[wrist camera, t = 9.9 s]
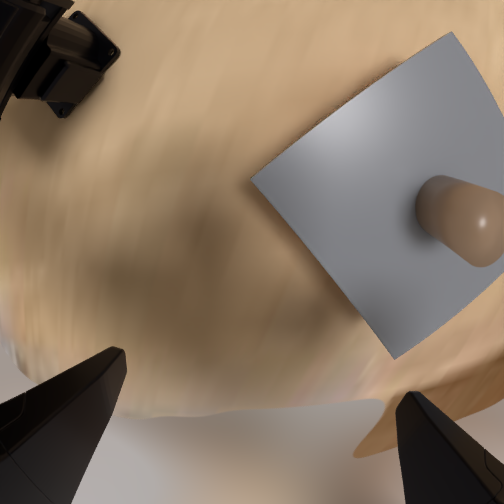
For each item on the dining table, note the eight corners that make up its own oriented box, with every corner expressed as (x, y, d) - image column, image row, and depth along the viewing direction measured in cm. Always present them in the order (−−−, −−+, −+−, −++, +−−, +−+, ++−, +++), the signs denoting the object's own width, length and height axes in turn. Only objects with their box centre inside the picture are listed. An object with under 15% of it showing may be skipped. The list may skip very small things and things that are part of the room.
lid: (251, 177, 14) (240, 196, 9) (444, 35, 10) (497, 10, 5) (390, 351, 17) (415, 408, 12) (534, 226, 13) (582, 253, 8)
